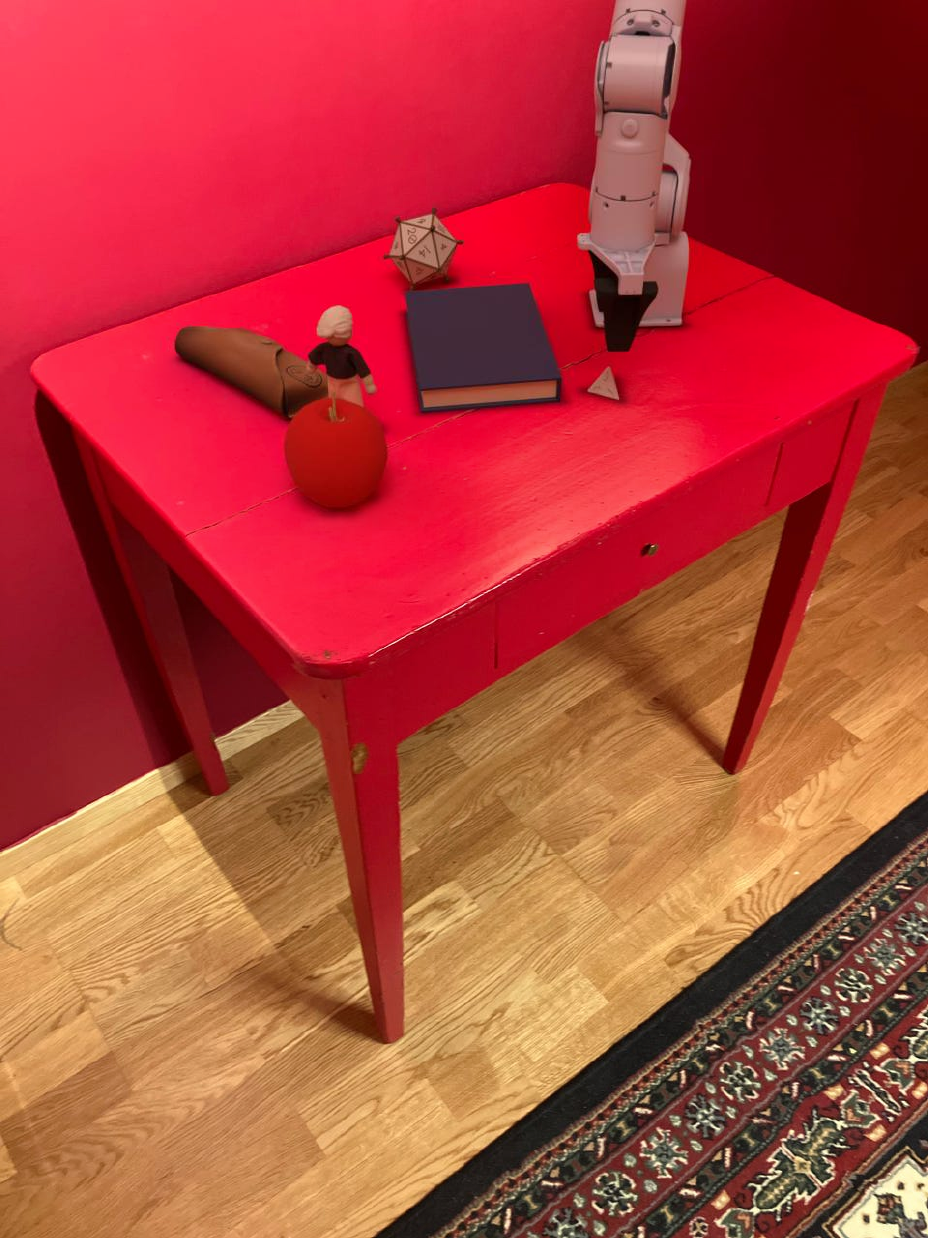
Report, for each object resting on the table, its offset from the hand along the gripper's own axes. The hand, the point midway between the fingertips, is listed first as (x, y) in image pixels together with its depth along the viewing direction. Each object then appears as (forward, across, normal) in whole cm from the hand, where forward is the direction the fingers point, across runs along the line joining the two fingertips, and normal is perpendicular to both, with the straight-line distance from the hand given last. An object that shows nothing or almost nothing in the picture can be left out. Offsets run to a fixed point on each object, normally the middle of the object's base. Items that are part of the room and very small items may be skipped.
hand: (613, 329), depth 99 cm
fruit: (+7, +16, -26) cm, 31 cm away
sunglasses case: (+7, -4, -36) cm, 37 cm away
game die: (+7, -24, -19) cm, 31 cm away
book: (+7, -7, -13) cm, 16 cm away
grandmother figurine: (+7, +6, -26) cm, 28 cm away
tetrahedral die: (+7, 0, 0) cm, 7 cm away
